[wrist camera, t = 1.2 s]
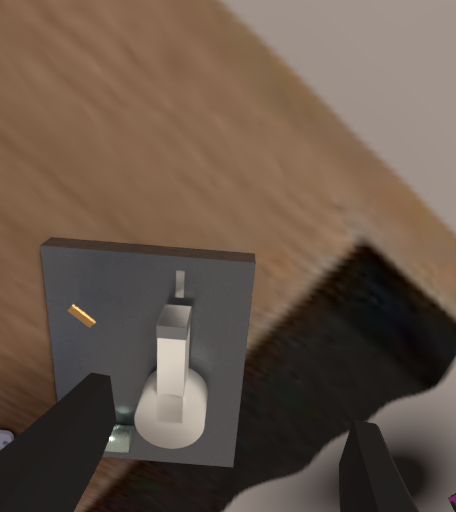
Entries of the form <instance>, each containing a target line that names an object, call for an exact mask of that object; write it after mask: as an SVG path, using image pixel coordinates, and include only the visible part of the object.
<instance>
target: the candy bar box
mask: <svg viewBox="0 0 456 512" xmlns="http://www.w3.org/2000/svg"><path fill="white" fill-rule="evenodd" d="M448 499H449V501H450V503H451V505H452V507H453V509H454V511H455V512H456V493H455V494H454V495H452V496H451V497H449V498H448Z"/></svg>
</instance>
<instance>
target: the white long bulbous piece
mask: <svg viewBox="0 0 456 512" xmlns="http://www.w3.org/2000/svg"><path fill="white" fill-rule="evenodd" d="M191 318H192V306H183V305H171V304H164V307H163V310H162V312H161V315H160V318H159V320H158V323H157V326H156V338H157V370H155V371H154V372H153V373H151V374H150V376H149V377H148V378H147V380H146V383H145V386H144V389H143V392H142V395H141V398H140V401H139V404H138V407H137V410H136V413H135V418H134V421H135V426H136V429H137V431H138V432H139V434H140V435H141V436H142V437H143V438H144V439H145V440H147V441H148V442H150V443H151V444H153V445H156V446H159V447H162V448H168V449H176V448H183V447H186V446H188V445H191V444H192V443H194V442H195V441H197V440H198V439H199V437H200V436H201V435H202V433H203V430H204V425H205V416H206V407H207V398H208V388H207V385H206V383H205V381H204V379H203V378H202V377H201V376H200V375H199V374H198V373H197V372H195V371H194V370H192V369H190V368H188V365H189V343H190V322H191Z"/></svg>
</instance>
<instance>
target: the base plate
mask: <svg viewBox="0 0 456 512" xmlns="http://www.w3.org/2000/svg"><path fill="white" fill-rule="evenodd" d="M40 249H41V258H42V267H43V275H44V284H45V293H46V302H47V311H48V320H49V329H50V338H51V347H52V356H53V365H54V374H55V383H56V392H57V401H58V402H59V401H60V400H61V399H62V398H63V397H64V396H65V395H66V394H67V393H69V392H70V391H71V390H72V389H73V388H74V387H75V386H76V385H77V384H78V383H80V382H81V381H82V380H83V379H84V378H85V377H86V376H87V375H88V374H90V373H91V372H92V373H97V374H103V375H109V376H110V378H111V385H112V392H113V399H114V406H115V413H116V423H115V426H114V428H113V431H112V433H111V436H110V439H109V441H108V444H107V446H106V449H105V451H104V454H103V456H102V457H112V458H124V459H137V460H149V461H162V462H174V463H187V464H199V465H212V466H224V467H233V463H234V454H235V445H236V436H237V426H238V417H239V408H240V399H241V390H242V381H243V372H244V363H245V354H246V345H247V336H248V327H249V318H250V309H251V300H252V291H253V282H254V273H255V264H256V262H255V254H251V253H239V252H227V251H214V250H202V249H189V248H177V247H165V246H152V245H140V244H127V243H115V242H103V241H90V240H78V239H65V238H53V237H51V238H50V239H48V240H47V241H46V242H44V243H43V244H42V245H40ZM164 304H171V305H183V306H192V318H191V322H190V343H189V365H188V368H190V369H192V370H194V371H195V372H197V373H198V374H199V375H200V376H201V377H202V378H203V379H204V381H205V383H206V385H207V388H208V398H207V407H206V416H205V425H204V430H203V433H202V435H201V436H200V437H199V439H198V440H197V441H195V442H194V443H192V444H191V445H188V446H186V447H183V448H176V449H168V448H162V447H159V446H156V445H153V444H151V443H150V442H148V441H147V440H145V439H144V438H143V437H142V436H141V435H140V434H139V432H138V431H137V429H136V426H135V421H134V418H135V413H136V410H137V407H138V404H139V401H140V398H141V395H142V392H143V389H144V386H145V383H146V380H147V378H148V377H149V376H150V374H151V373H153V372H154V371H155V370H157V338H156V326H157V323H158V320H159V318H160V315H161V312H162V310H163V307H164Z"/></svg>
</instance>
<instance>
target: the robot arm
mask: <svg viewBox="0 0 456 512" xmlns="http://www.w3.org/2000/svg"><path fill="white" fill-rule="evenodd" d="M115 423H116V413H115V406H114V399H113V392H112V385H111V378H110V376H109V375H103V374H97V373H92V372H91V373H90V374H88V375H87V376H86V377H85V378H84V379H83V380H82V381H81V382H80V383H78V384H77V385H76V386H75V387H74V388H73V389H72V390H71V391H70V392H69V393H67V394H66V395H65V396H64V397H63V398H62V399H61V400H60V401H59V402H57V403H56V404H55V405H54V406H53V407H52V408H51V409H49V410H48V411H47V412H46V413H45V414H44V415H42V416H41V417H40V418H39V419H38V420H37V421H35V422H34V423H33V424H32V425H31V426H30V427H28V428H27V429H26V430H25V431H24V432H22V433H21V434H20V435H19V436H17V437H16V438H15V439H14V436H13V434H12V433H11V432H10V431H6V430H0V512H74V510H75V508H76V506H77V504H78V502H79V500H80V498H81V496H82V494H83V493H84V491H85V489H86V487H87V485H88V483H89V481H90V479H91V477H92V475H93V473H94V471H95V469H96V468H97V466H98V464H99V462H100V460H101V458H102V456H103V454H104V451H105V449H106V446H107V444H108V441H109V439H110V436H111V433H112V431H113V428H114V426H115ZM339 491H340V510H341V512H419V511H418V509H417V507H416V505H415V503H414V501H413V499H412V497H411V495H410V494H409V492H408V490H407V488H406V486H405V484H404V482H403V480H402V478H401V476H400V473H399V471H398V469H397V467H396V465H395V463H394V461H393V459H392V456H391V454H390V452H389V450H388V448H387V445H386V443H385V441H384V438H383V436H382V434H381V431H380V429H379V427H378V426H377V425H376V424H374V423H368V422H363V421H357V420H353V423H352V426H351V429H350V432H349V435H348V438H347V441H346V445H345V447H344V451H343V454H342V457H341V460H340V463H339Z"/></svg>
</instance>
